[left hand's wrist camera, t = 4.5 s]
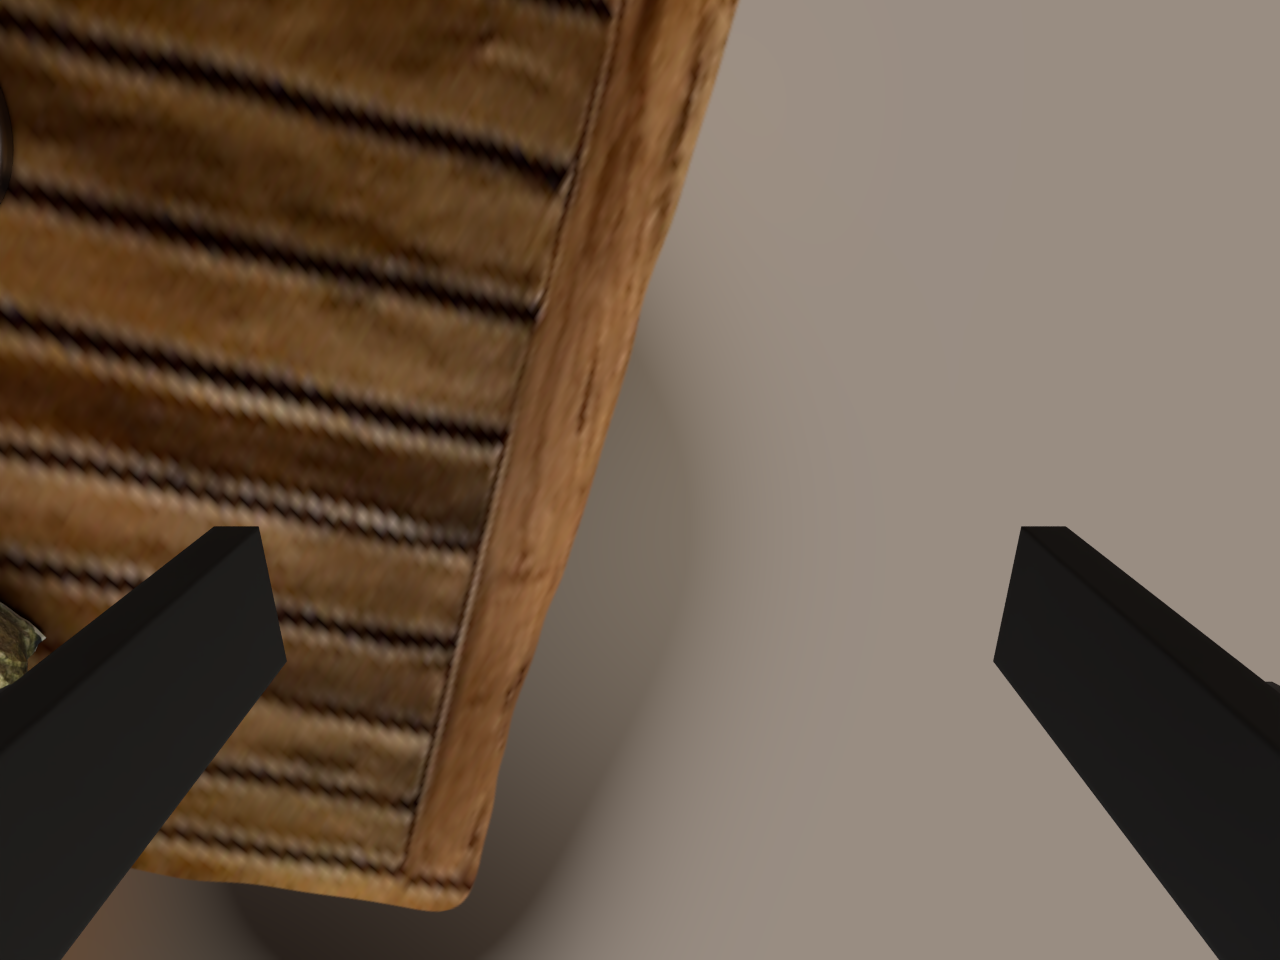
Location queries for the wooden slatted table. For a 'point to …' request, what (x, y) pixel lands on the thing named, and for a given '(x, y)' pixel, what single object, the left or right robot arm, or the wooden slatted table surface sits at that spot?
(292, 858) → the wooden slatted table surface
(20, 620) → the fossil
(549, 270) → the wooden slatted table surface
